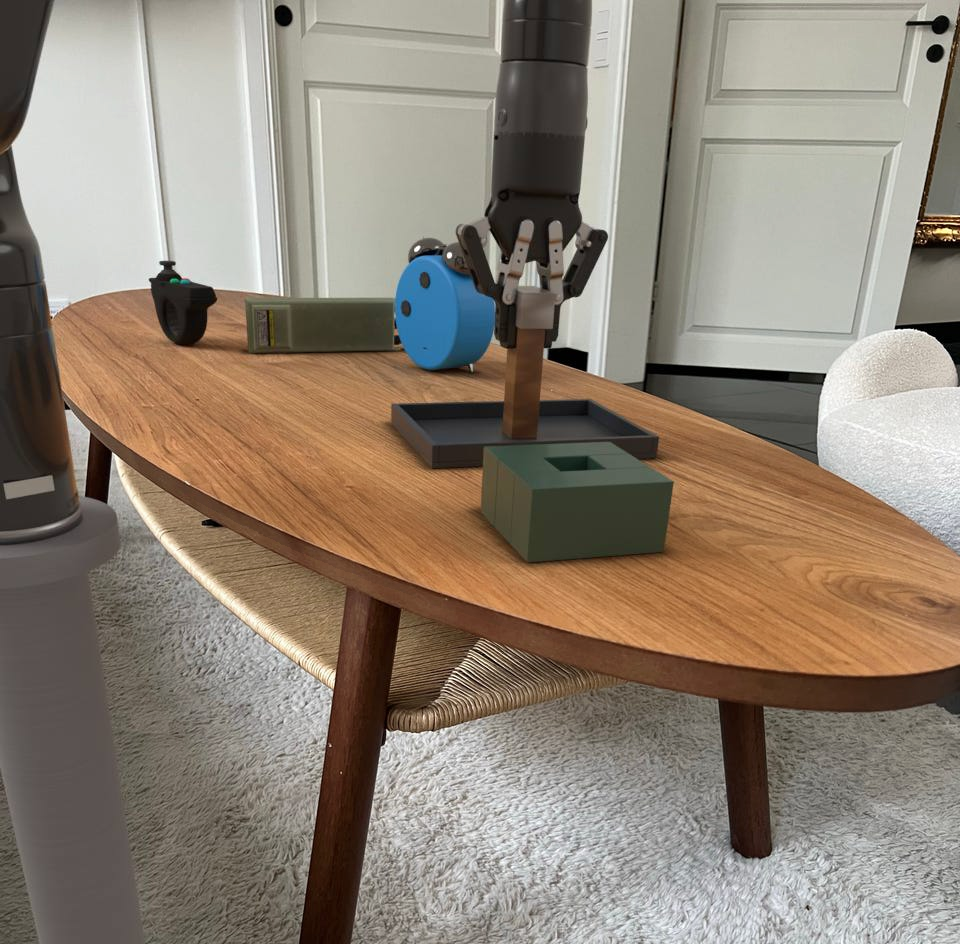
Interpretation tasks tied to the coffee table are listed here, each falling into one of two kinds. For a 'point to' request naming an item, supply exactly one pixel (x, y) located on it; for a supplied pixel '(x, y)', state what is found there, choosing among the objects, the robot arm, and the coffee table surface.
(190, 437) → the coffee table surface
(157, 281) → the controller
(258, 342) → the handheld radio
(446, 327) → the alarm clock
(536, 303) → the brown and grey block
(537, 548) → the holder
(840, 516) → the coffee table surface
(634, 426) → the tray
